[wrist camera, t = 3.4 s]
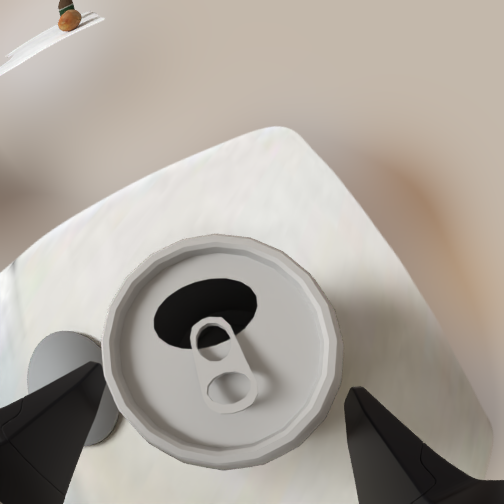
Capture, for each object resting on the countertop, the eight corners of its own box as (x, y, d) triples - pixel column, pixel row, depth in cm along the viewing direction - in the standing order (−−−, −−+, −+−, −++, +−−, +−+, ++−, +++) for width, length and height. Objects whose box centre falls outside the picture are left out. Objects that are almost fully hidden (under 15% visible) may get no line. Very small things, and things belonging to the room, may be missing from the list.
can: (268, 298, 19) (295, 182, 8) (308, 398, 16) (404, 417, 5) (164, 331, 18) (65, 255, 7) (199, 434, 15) (127, 506, 4)
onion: (62, 33, 62) (56, 15, 54) (83, 23, 65) (79, 4, 56) (59, 37, 59) (54, 18, 50) (83, 26, 61) (78, 6, 52)
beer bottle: (66, 24, 72) (56, -12, 51) (79, 18, 73) (71, -19, 52) (61, 29, 69) (50, -9, 47) (75, 22, 70) (65, -17, 48)
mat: (143, 388, 16) (141, 388, 16) (85, 466, 13) (81, 468, 12) (66, 309, 18) (62, 307, 18) (18, 385, 15) (14, 384, 14)
